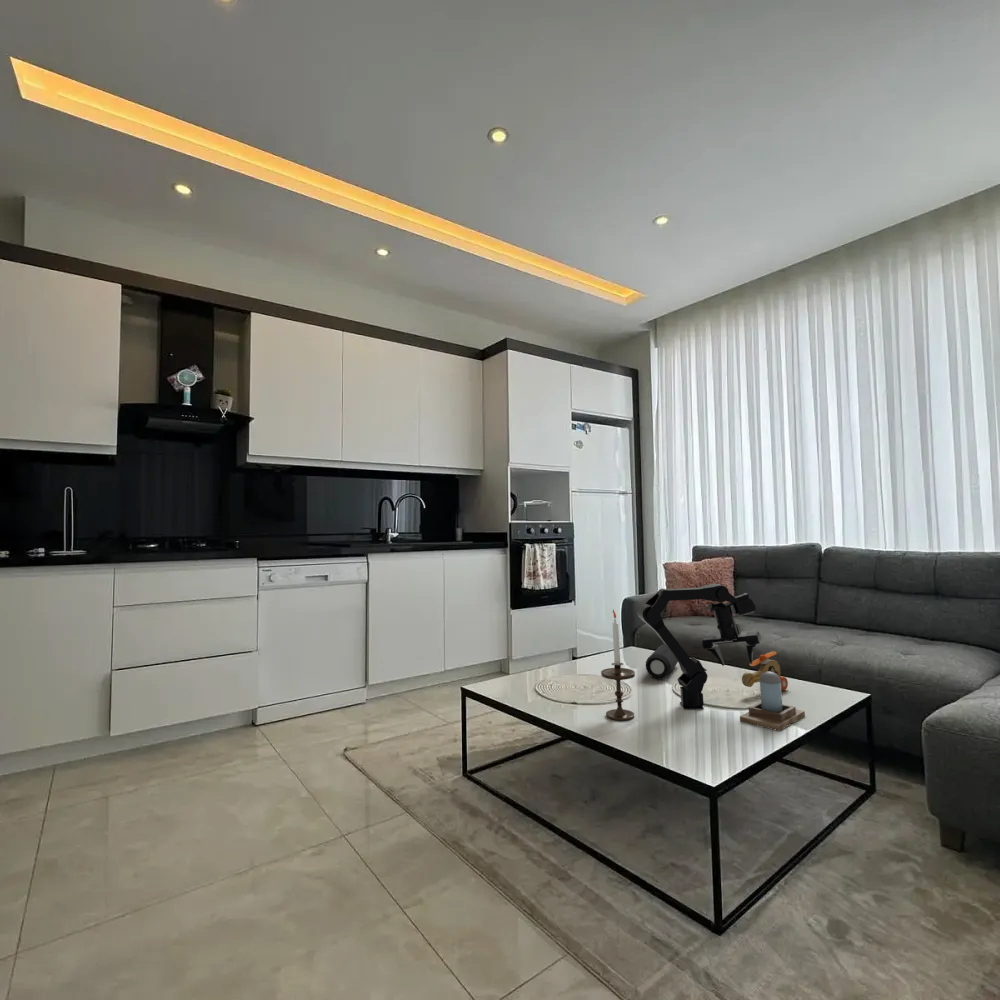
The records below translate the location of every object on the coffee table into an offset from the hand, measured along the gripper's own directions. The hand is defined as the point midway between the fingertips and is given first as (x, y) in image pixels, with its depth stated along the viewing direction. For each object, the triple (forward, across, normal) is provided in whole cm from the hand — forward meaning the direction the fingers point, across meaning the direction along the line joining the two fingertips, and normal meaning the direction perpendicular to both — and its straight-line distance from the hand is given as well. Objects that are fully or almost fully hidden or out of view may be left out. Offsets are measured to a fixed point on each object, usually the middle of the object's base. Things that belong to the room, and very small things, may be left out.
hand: (737, 664), depth 190 cm
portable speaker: (+11, +37, -27) cm, 47 cm away
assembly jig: (+14, -9, +12) cm, 20 cm away
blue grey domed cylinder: (+12, -9, +11) cm, 19 cm away
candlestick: (+4, +33, +30) cm, 45 cm away
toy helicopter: (+16, -2, -17) cm, 23 cm away
